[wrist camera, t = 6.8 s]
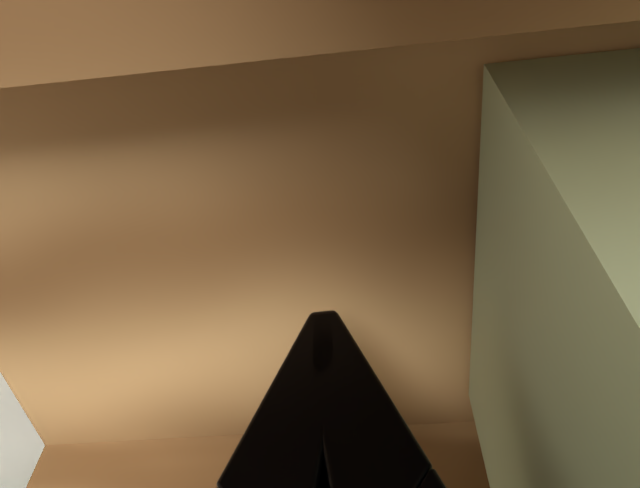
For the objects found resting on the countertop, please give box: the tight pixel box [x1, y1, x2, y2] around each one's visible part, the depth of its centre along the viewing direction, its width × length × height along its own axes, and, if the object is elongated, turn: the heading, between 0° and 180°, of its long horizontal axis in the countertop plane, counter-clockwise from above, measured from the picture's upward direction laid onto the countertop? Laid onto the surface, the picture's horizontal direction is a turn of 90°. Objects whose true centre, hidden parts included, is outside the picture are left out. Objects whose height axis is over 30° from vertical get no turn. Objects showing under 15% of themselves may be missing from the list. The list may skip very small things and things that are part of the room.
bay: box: [0, 0, 640, 488], centre depth 10 cm, size 11×18×3 cm, turn 96°
